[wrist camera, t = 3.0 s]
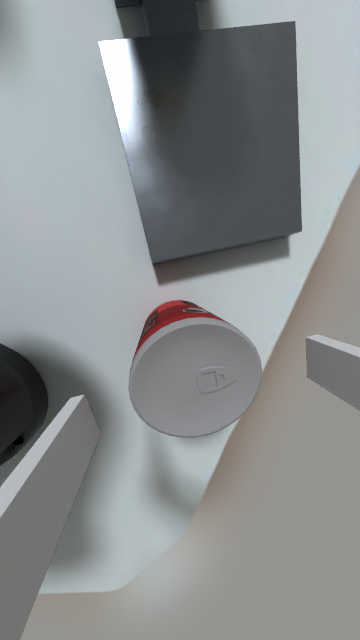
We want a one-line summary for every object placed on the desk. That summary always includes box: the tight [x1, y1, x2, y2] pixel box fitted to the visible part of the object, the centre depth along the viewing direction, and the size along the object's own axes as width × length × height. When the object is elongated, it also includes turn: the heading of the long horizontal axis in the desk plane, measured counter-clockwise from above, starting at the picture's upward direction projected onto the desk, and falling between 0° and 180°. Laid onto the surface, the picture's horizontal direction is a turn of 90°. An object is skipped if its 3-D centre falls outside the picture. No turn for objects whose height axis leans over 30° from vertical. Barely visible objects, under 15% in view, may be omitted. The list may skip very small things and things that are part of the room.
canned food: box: [129, 300, 262, 437], centre depth 15 cm, size 8×8×11 cm
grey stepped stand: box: [99, 0, 302, 265], centre depth 11 cm, size 16×28×10 cm, turn 12°
